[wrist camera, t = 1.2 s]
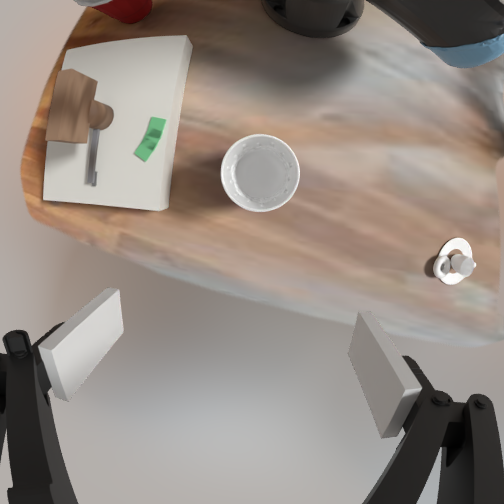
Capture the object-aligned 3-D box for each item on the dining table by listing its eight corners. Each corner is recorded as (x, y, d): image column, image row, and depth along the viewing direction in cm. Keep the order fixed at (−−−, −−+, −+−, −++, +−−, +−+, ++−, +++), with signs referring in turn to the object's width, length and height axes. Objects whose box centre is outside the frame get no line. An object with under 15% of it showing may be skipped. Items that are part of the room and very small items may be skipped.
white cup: (218, 172, 39) (204, 170, 29) (262, 133, 37) (262, 118, 28) (258, 215, 40) (257, 227, 30) (302, 177, 39) (315, 176, 29)
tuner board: (79, 57, 34) (65, 49, 30) (192, 46, 34) (186, 34, 30) (58, 197, 40) (42, 200, 36) (168, 207, 40) (158, 211, 36)
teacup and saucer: (425, 275, 42) (437, 284, 38) (442, 228, 40) (456, 233, 36) (459, 288, 42) (472, 297, 38) (475, 245, 40) (489, 251, 36)
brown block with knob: (97, 91, 32) (53, 72, 22) (118, 89, 32) (77, 67, 22) (84, 181, 35) (36, 186, 25) (105, 183, 35) (59, 187, 25)
